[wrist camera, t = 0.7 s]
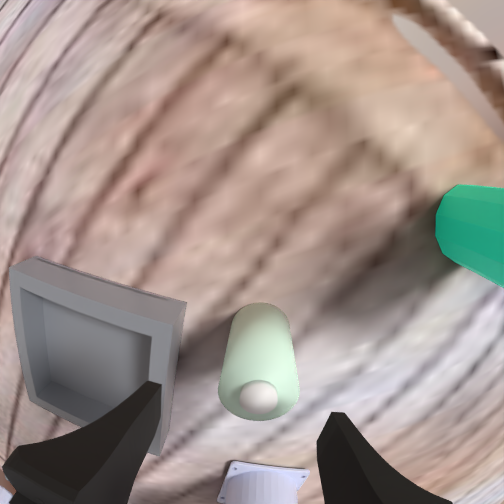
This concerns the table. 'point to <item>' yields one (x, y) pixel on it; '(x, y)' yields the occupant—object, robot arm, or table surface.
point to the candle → (473, 229)
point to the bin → (92, 341)
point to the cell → (259, 365)
